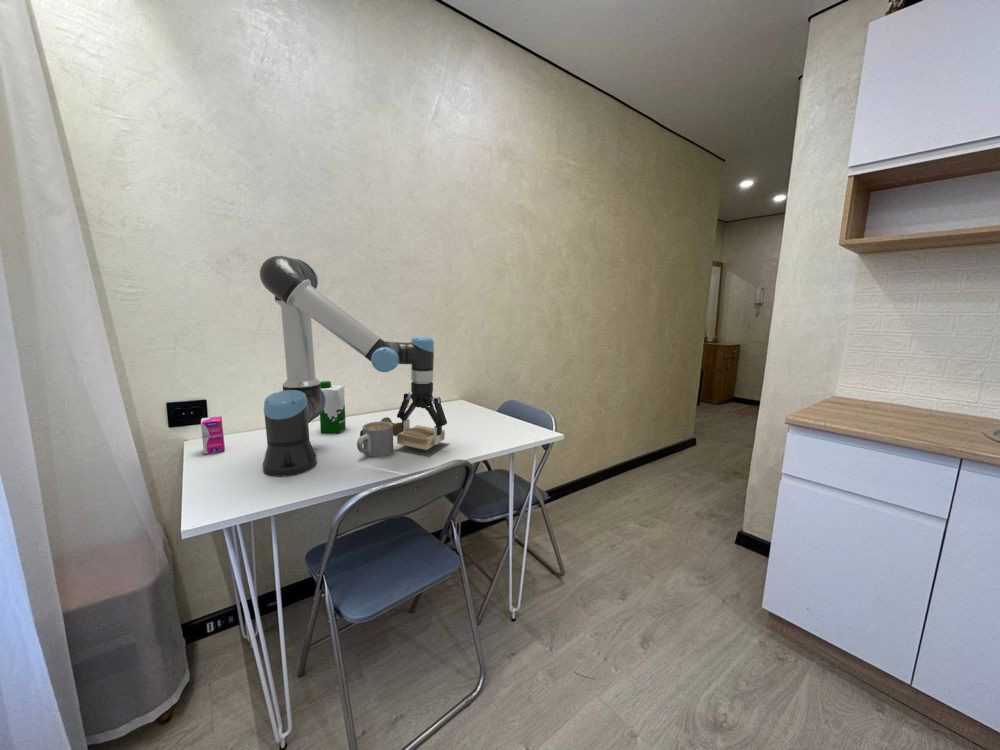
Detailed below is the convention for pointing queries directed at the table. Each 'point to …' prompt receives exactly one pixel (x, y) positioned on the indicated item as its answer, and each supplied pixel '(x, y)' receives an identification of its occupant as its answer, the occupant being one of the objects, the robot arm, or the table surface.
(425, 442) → the lid
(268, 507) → the table surface
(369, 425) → the coffee mug
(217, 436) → the supplement box
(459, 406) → the table surface
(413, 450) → the mat
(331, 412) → the milk carton
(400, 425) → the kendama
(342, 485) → the table surface
